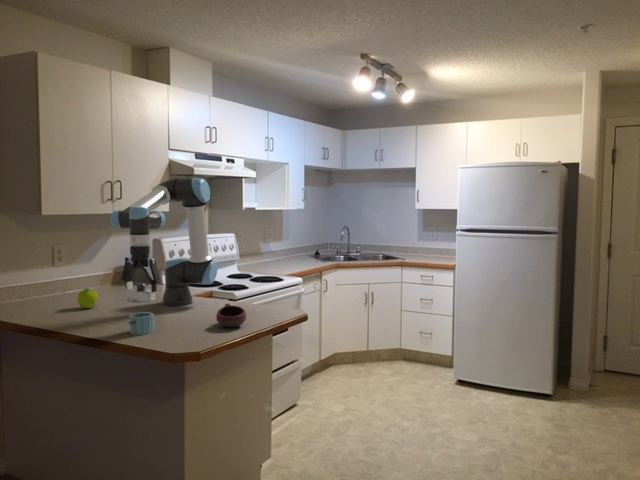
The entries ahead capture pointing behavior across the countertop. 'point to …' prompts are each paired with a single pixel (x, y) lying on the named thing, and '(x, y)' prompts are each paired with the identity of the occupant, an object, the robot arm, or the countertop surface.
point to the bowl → (231, 316)
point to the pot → (141, 323)
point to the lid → (138, 294)
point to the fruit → (87, 298)
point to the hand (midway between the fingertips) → (141, 298)
